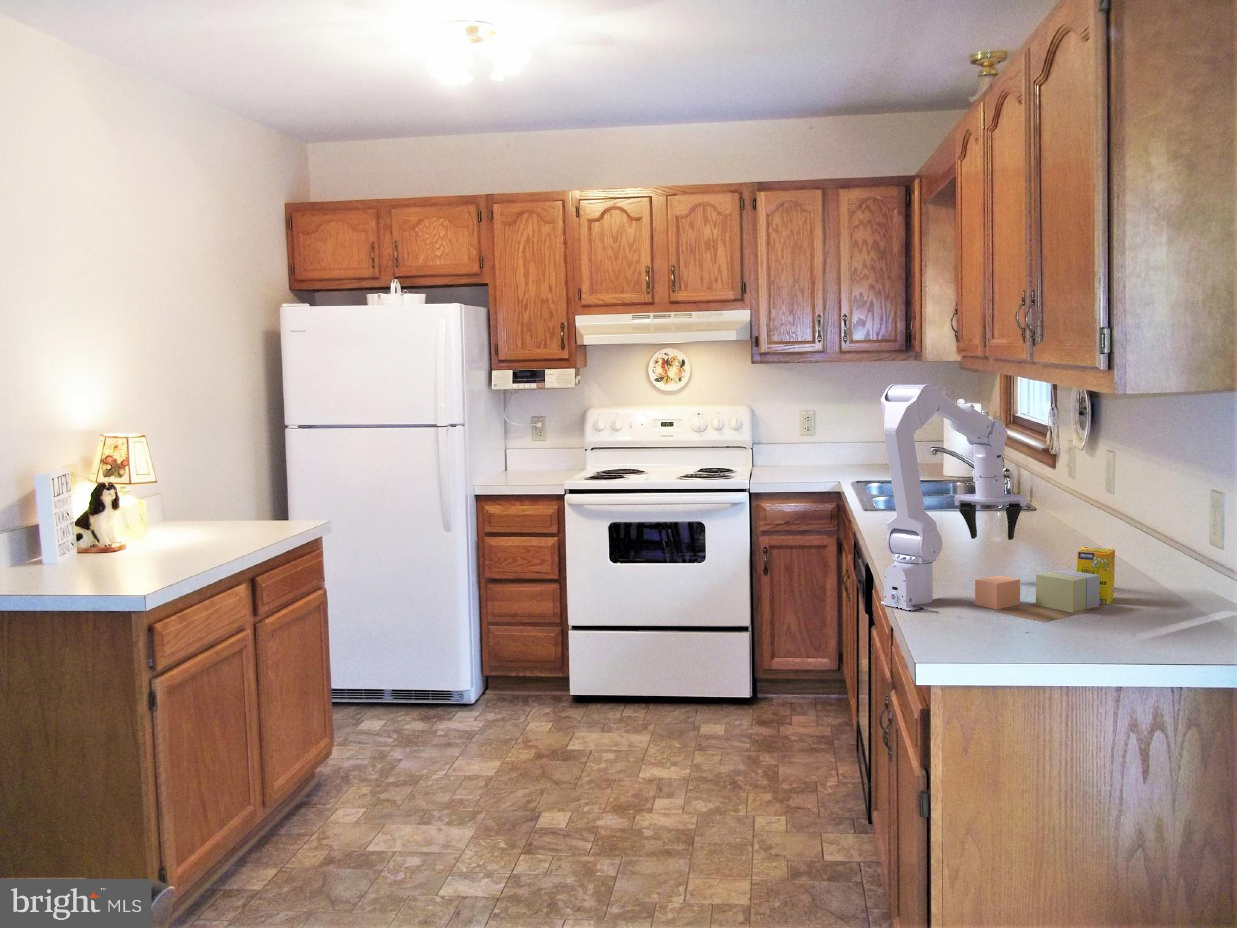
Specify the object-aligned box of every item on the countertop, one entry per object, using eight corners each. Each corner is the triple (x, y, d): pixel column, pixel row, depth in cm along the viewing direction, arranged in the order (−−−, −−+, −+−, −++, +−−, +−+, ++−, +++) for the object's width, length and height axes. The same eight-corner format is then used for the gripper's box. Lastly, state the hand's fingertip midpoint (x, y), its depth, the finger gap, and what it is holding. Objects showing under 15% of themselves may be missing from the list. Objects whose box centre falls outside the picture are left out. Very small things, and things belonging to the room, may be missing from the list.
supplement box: (1075, 606, 216) (1076, 550, 215) (1082, 600, 221) (1083, 546, 220) (1108, 609, 212) (1109, 553, 211) (1114, 603, 217) (1115, 548, 216)
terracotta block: (996, 614, 210) (996, 583, 210) (975, 610, 215) (975, 579, 214) (1019, 609, 214) (1020, 579, 214) (998, 605, 218) (998, 575, 218)
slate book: (1086, 609, 208) (1087, 577, 208) (1049, 601, 215) (1050, 571, 215) (1099, 606, 211) (1099, 575, 210) (1062, 599, 217) (1062, 569, 217)
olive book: (1072, 612, 206) (1073, 580, 206) (1035, 605, 213) (1036, 574, 212) (1085, 609, 208) (1086, 578, 208) (1048, 602, 215) (1049, 571, 214)
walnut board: (1044, 627, 199) (1044, 622, 199) (993, 616, 208) (993, 611, 208) (1108, 612, 210) (1108, 606, 210) (1057, 602, 219) (1058, 597, 219)
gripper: (1029, 471, 231) (1032, 534, 233) (959, 472, 239) (962, 532, 241) (1021, 478, 226) (1024, 542, 228) (950, 478, 233) (954, 540, 235)
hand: (992, 538), depth 234 cm, fingers open, 7 cm apart
